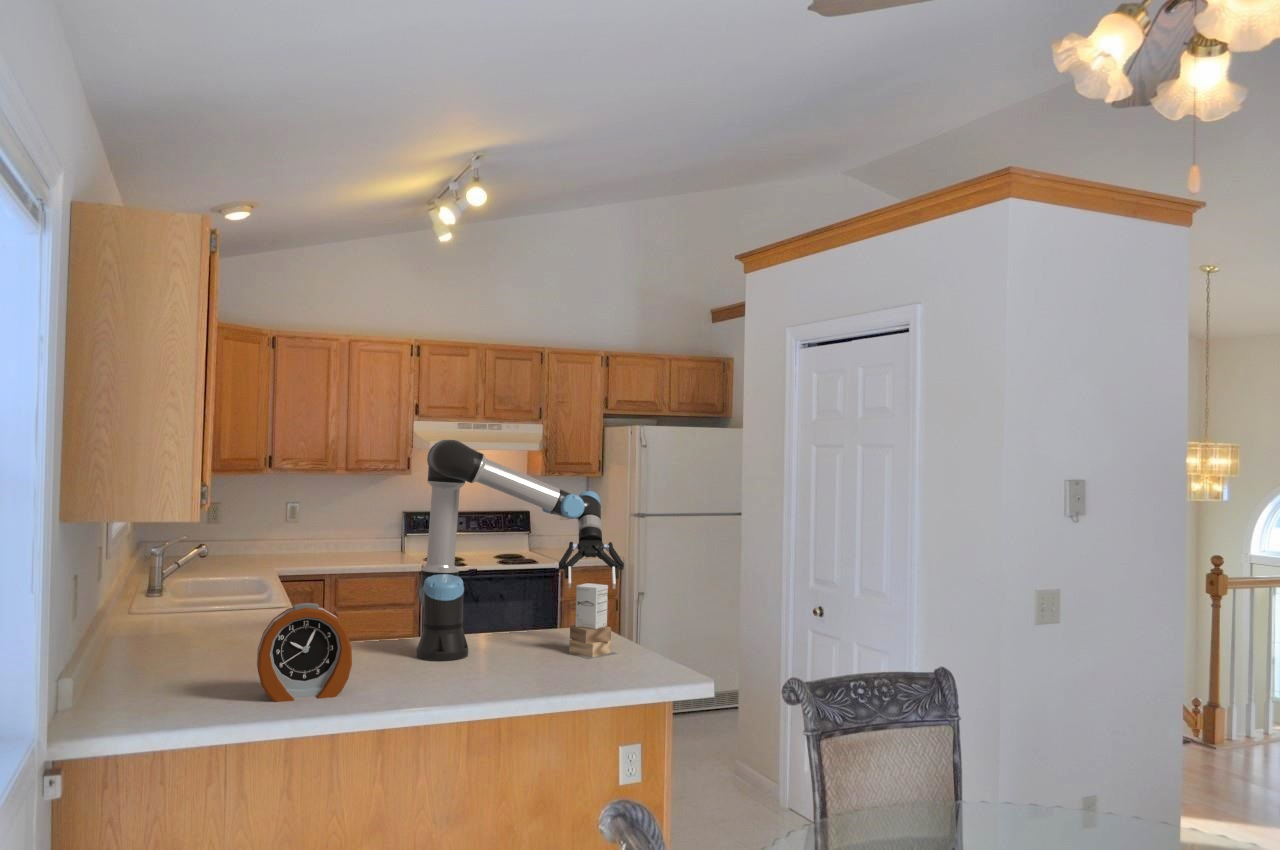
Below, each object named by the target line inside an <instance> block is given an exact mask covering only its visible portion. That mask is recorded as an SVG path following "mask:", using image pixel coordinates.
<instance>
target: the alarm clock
mask: <svg viewBox="0 0 1280 850" xmlns="http://www.w3.org/2000/svg"><path fill="white" fill-rule="evenodd" d="M352 649H353V648H352V645H351V642H350V637H349V633H348V631H347V630H346V629H345V627H344V626H343V624H342V622H341V621H340V620H339V619H338V617H337V615H335V614H334V613H332V612H331V611H329V610H327V609H325V608H324V607H322V606H320V605H319V604H318V603H314V602H313V603H312V602H302V603H297V604H293V607H289V608H286V609H285V610H284V611H282V612H281V613H279V614H278V615H277V616H275V617H273V619H271V621H270V623H268V625H267V627H266V628H265V629H264V631H263V633H262V635H261V638H260V642H259V645H258V647H257V654H256V655H257V657H256V668H257V673H258V677H259V681H260V684H261V687H262V689H263V690H264V692H265V694H266V695H267V697H268V698H269V699H270V700H272V701H273V702H274V703H282V702H294V701H295V699H300V698H310V697H311V698H312V697H313V698H314V697H316V699H317V700H319V699H330V698H336V697H337V696H338V695H339V694H341V692H342V690H343V689H344V687H345V685H346V683H347V682H348V680H349V677H350V672H351V671H352V667H353V666H352V665H353V651H352Z"/></svg>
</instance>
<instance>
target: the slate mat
mask: <svg viewBox="0 0 1280 850" xmlns="http://www.w3.org/2000/svg"><path fill="white" fill-rule="evenodd" d="M562 653H563V654H566V655H571V656H575V657H579V658H582V659H587V660H590V659H591V660H593V659H597V658H603V657H607V656H613V655H618V654H619V653H618V652H614V651H611V653H608V654H604V655H600V656H596V657H587V656H581V655H576V654H570V653H569V651H563V652H562Z"/></svg>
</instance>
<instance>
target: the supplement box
mask: <svg viewBox="0 0 1280 850" xmlns="http://www.w3.org/2000/svg"><path fill="white" fill-rule="evenodd" d="M608 590H609V585H608V584H601V583H600V584H599V583H590V582H587V583H586V582H585V583H582V584H577V585H576V593H575V595H576V596H575V597H576V598H575V625H576V627H584V628H592V629H598V628H601V627H604V626H607V627H608V599H609V598H608Z"/></svg>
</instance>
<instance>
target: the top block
mask: <svg viewBox="0 0 1280 850" xmlns="http://www.w3.org/2000/svg"><path fill="white" fill-rule="evenodd" d="M569 639H570V640H575V641H578V642H581V643H585V644H589V643H597V642H605V641H611V642H612V627H611V626H608V625H607V626H604V627H601V628H598V629H592V628H584V627H576V624H574V625H570V626H569Z"/></svg>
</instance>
